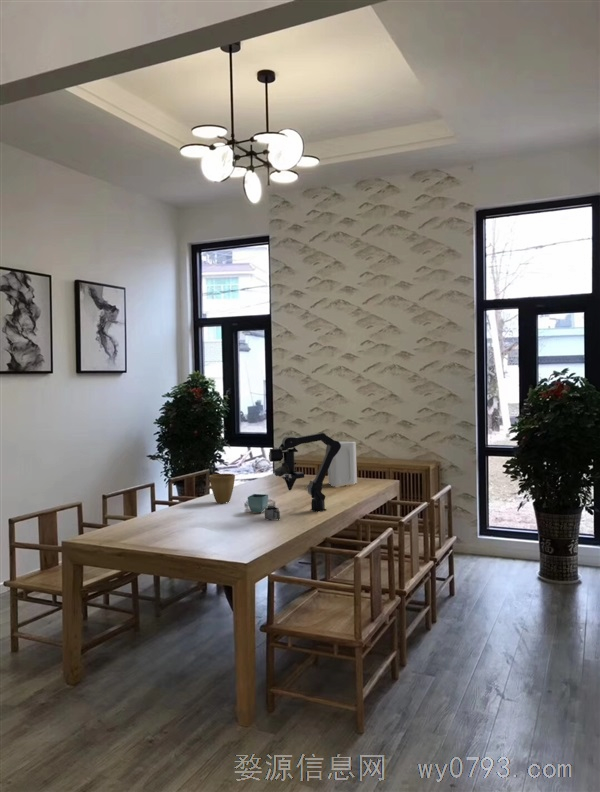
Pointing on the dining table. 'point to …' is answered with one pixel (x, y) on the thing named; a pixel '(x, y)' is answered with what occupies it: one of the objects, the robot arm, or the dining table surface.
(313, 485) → the robot arm
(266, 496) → the flower pot
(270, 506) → the dark round piece
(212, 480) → the plant pot
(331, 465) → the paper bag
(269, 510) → the grey octagonal mug
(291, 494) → the dining table surface
